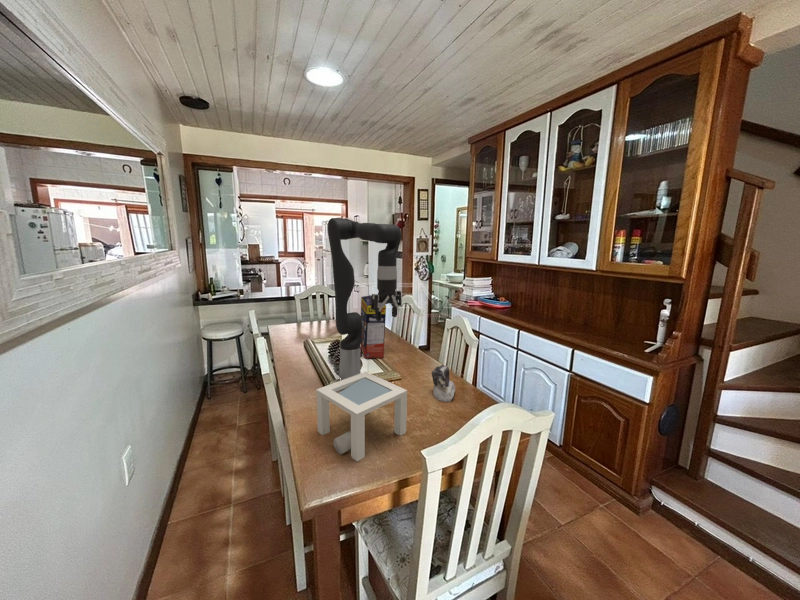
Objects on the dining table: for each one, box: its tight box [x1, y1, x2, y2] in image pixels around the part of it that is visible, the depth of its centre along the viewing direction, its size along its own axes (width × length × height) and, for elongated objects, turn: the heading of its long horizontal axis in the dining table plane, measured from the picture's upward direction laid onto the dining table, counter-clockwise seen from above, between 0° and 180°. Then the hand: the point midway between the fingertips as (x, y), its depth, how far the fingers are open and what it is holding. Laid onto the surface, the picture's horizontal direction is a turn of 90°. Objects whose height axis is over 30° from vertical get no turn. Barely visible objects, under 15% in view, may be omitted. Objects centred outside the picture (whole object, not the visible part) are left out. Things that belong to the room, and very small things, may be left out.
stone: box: [431, 364, 456, 403], centre depth 144 cm, size 14×10×15 cm
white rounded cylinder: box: [333, 430, 351, 455], centre depth 107 cm, size 5×5×6 cm
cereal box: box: [360, 294, 387, 360], centre depth 195 cm, size 27×11×32 cm, turn 14°
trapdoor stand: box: [315, 371, 408, 462], centre depth 115 cm, size 22×22×16 cm
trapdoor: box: [337, 378, 390, 405], centre depth 114 cm, size 14×14×1 cm
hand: (386, 318), depth 130 cm, fingers open, 8 cm apart
